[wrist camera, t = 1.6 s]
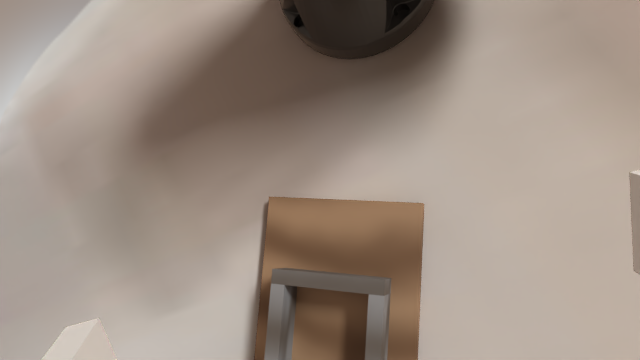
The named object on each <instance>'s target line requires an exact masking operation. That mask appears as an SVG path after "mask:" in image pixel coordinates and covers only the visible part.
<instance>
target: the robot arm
mask: <svg viewBox="0 0 640 360" xmlns="http://www.w3.org/2000/svg"><path fill="white" fill-rule="evenodd" d="M433 2H434V0H280V4H281V7H282V10H283V12H284V15H285V17H286V19H287V21H288V22H289V24H290V25H291V27H292V28H293V29H294V31H295V32H296V33H297V34H298V36H299V37H300V38H301V39H302V40H303V41H304V42H305V43H306V44H307V45H308V46H310V47H311V48H313V49H314V50H316V51H318V52H320V53H322V54H325V55H328V56H331V57H336V58H347V59H351V58H362V57H367V56H371V55H374V54H377V53H380V52H383V51H385V50H387V49H389V48H391V47H393V46H395V45H396V44H398V43H399V42H401V41H402V40H403V39H405V38H406V37H407V36H408V35H410V34H411V33H412V32H413V31H414V30H415V29H416V28H417V27H418V25H419V24H420V23H421V22H422V21H423V19H424V18H425V16H426V15H427V13H428V12H429V10H430V8H431V6H432V4H433ZM629 177H630V199H631V222H632V245H633V267H634V271H635V272H637V273H638V274H640V170H636V171H632V172H629ZM41 360H117V358H116V355H115V353H114V351H113V349H112V346H111V344H110V342H109V339H108V337H107V335H106V332H105V330H104V328H103V325H102V323H101V321H100V319H99V318H97V319H93V320H89V321H86V322H82V323H78V324H75V325H71V326H67V327H65V329H64V330H63V331H62V333H61V334H60V335H59V337H58V338H57V339H56V341H55V342H54V343H53V345H52V346H51V347H50V349H49V350H48V351H47V353H46V354H45V355H44V357H43V358H42V359H41Z"/></svg>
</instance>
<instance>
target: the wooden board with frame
mask: <svg viewBox="0 0 640 360" xmlns="http://www.w3.org/2000/svg"><path fill="white" fill-rule="evenodd" d="M423 222H424V204H423V203H406V202H382V201H359V200H335V199H311V198H288V197H269V204H268V215H267V226H266V237H265V248H264V259H263V269H262V280H261V291H260V302H259V313H258V324H257V334H256V345H255V356H254V360H418V340H419V317H420V293H421V269H422V246H423Z"/></svg>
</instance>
